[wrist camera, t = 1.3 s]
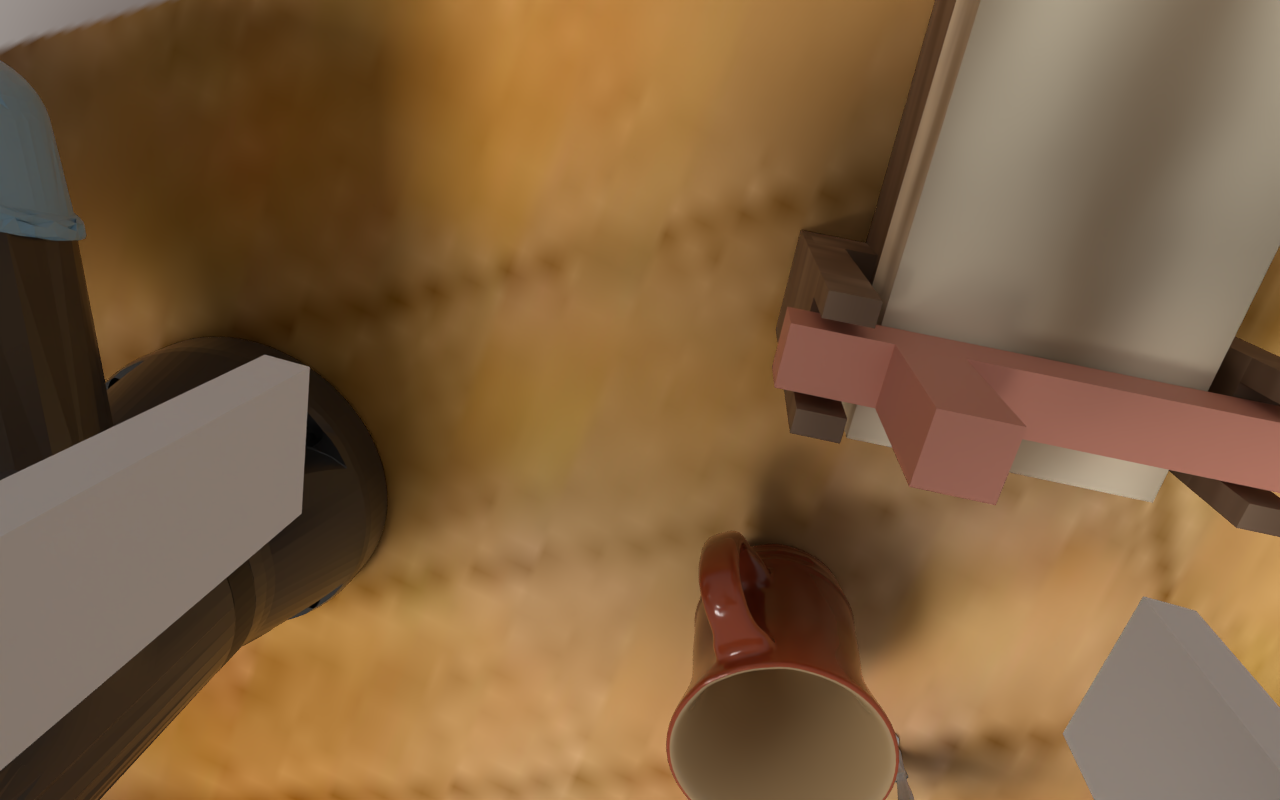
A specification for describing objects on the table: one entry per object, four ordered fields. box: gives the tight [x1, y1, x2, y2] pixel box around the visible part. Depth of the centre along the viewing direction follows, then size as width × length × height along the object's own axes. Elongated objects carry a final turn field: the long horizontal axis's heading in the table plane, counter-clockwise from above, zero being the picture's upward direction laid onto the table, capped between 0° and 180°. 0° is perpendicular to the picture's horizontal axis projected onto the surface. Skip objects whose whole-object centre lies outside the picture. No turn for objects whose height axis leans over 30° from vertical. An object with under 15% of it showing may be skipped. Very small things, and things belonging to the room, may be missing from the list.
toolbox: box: [776, 0, 1280, 537], centre depth 25 cm, size 14×14×12 cm
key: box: [772, 307, 1280, 505], centre depth 20 cm, size 16×2×7 cm, turn 80°
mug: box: [666, 531, 899, 800], centre depth 33 cm, size 12×9×10 cm
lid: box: [841, 0, 1280, 503], centre depth 23 cm, size 10×15×3 cm, turn 170°
